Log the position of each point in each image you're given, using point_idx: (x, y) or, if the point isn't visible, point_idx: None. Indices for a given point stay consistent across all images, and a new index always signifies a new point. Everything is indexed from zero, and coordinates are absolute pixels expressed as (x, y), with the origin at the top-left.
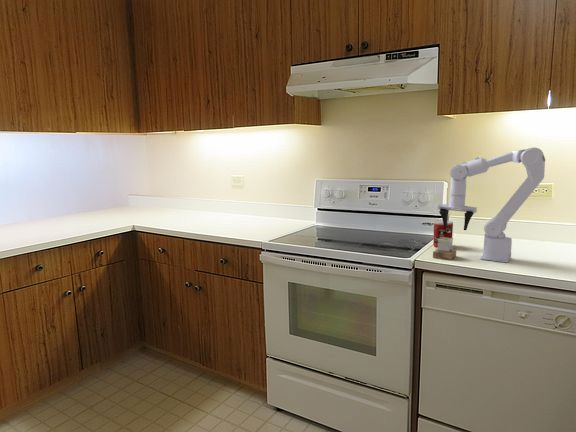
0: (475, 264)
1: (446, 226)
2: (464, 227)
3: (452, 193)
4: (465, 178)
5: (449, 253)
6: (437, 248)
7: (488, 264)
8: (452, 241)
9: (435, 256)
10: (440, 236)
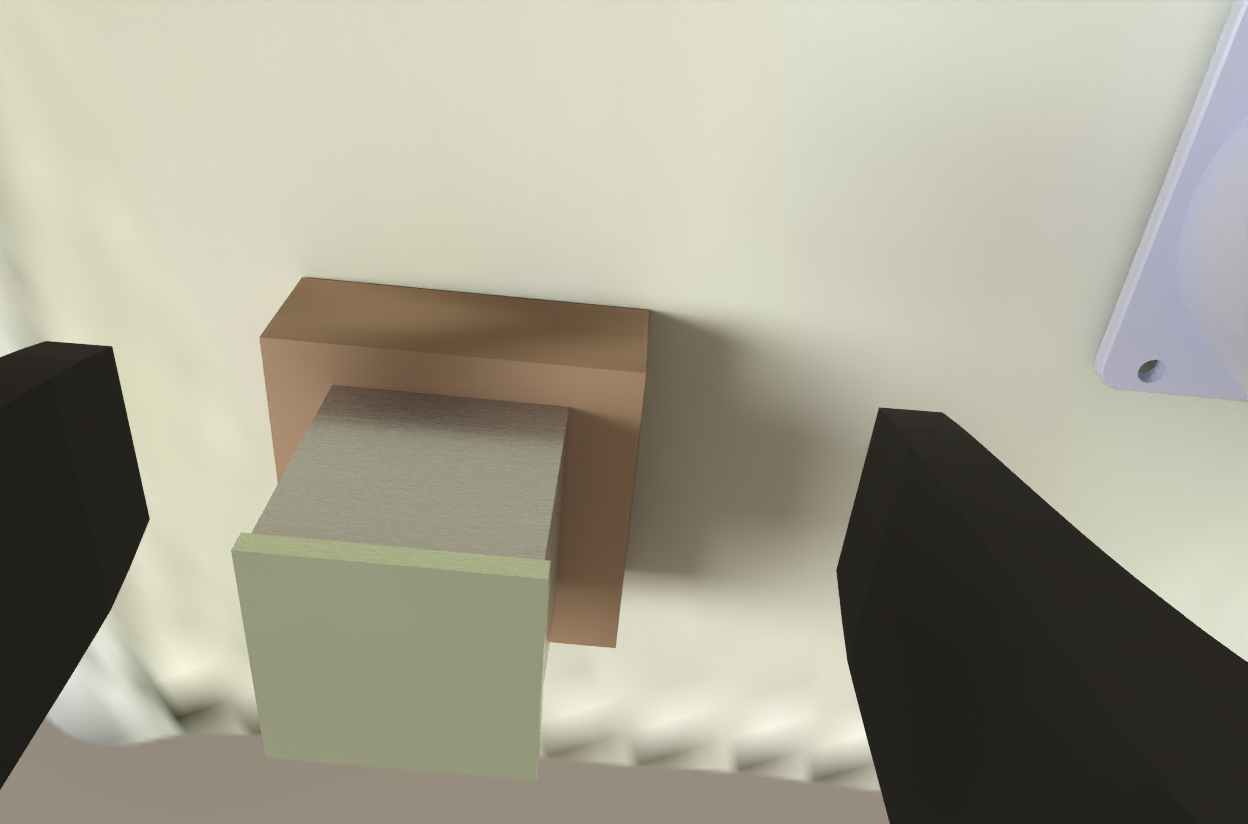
0: None
1: (110, 447)
2: (873, 670)
3: None
4: None
5: (577, 631)
6: (267, 391)
7: (1174, 576)
8: (549, 531)
9: None
10: None
